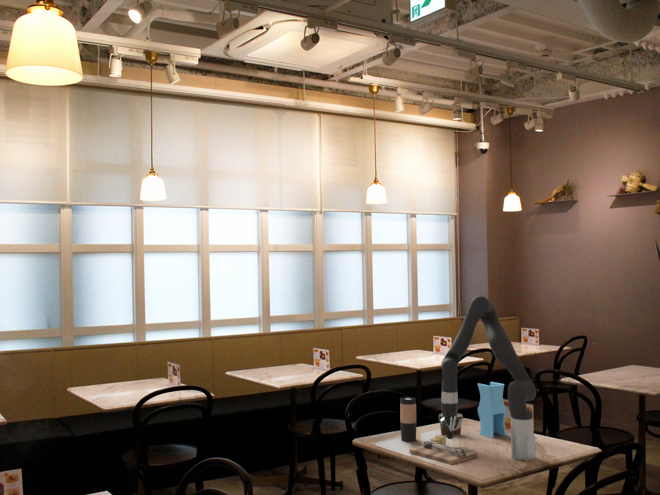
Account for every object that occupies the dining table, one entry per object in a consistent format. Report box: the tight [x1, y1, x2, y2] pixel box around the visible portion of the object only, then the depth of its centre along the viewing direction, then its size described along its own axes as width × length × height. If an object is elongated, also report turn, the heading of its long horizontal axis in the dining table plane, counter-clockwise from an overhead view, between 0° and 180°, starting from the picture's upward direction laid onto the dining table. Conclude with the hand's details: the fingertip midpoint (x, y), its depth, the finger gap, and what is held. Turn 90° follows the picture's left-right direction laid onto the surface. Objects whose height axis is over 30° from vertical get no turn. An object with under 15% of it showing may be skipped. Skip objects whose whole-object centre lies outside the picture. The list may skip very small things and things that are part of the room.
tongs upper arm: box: [423, 440, 463, 453], centre depth 289 cm, size 20×2×1 cm, turn 40°
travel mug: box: [399, 396, 417, 443], centre depth 316 cm, size 8×8×20 cm
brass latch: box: [429, 434, 447, 446], centre depth 298 cm, size 4×7×4 cm, turn 130°
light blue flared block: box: [477, 381, 508, 439], centre depth 325 cm, size 10×10×25 cm
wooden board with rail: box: [409, 444, 478, 465], centre depth 289 cm, size 24×17×4 cm
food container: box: [437, 412, 464, 437], centre depth 327 cm, size 12×6×10 cm, turn 84°
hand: (450, 438), depth 304 cm, fingers closed
